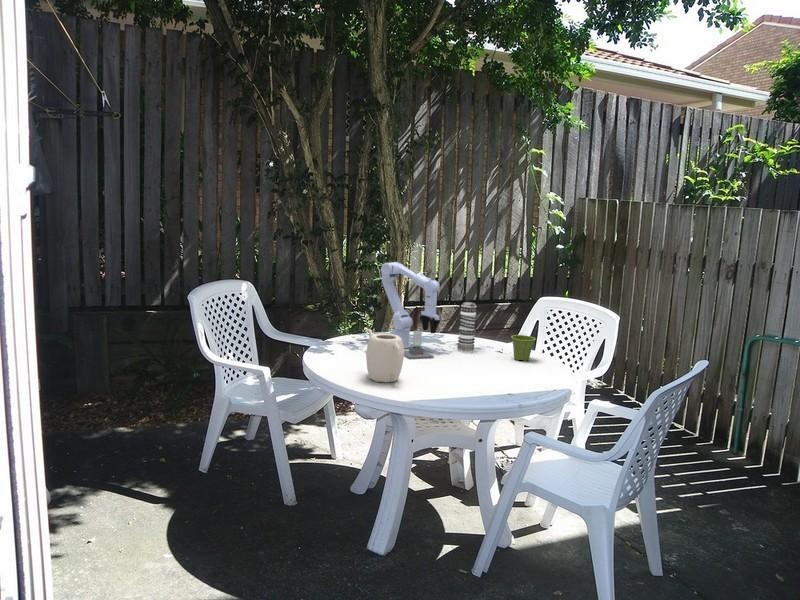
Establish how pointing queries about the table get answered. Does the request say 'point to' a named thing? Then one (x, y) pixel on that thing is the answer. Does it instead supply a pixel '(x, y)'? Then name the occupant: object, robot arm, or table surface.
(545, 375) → the table surface
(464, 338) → the decorative candle
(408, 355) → the grey socket base
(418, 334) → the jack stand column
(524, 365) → the table surface
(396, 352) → the cream ceramic pot
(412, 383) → the table surface
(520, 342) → the plant pot
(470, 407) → the table surface
